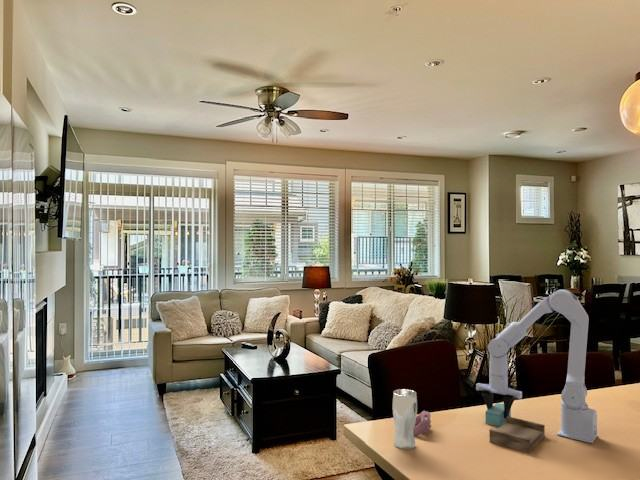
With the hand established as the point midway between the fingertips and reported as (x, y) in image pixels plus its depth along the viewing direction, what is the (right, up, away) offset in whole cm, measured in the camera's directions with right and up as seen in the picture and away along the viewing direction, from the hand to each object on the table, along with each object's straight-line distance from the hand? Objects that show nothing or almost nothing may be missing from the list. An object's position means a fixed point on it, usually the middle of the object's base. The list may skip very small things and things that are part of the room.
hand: (498, 415), depth 155 cm
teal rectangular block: (0, -2, 0) cm, 2 cm away
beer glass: (-35, -1, -20) cm, 40 cm away
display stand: (0, -1, -16) cm, 16 cm away
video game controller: (-28, -1, -10) cm, 29 cm away
